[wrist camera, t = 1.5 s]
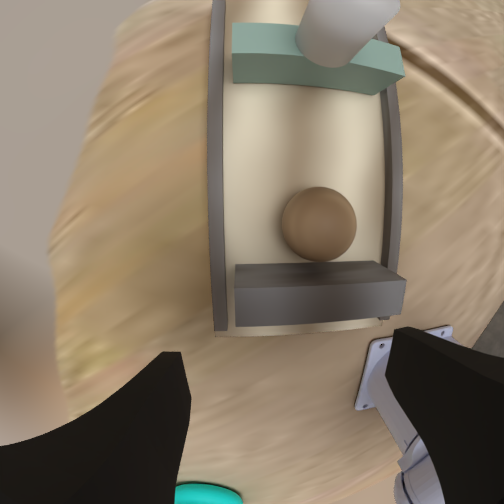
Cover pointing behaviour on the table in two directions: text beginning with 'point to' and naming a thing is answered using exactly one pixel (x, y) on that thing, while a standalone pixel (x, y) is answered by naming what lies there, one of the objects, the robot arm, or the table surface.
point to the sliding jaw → (321, 48)
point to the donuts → (205, 495)
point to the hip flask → (493, 336)
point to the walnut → (319, 224)
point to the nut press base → (291, 183)
